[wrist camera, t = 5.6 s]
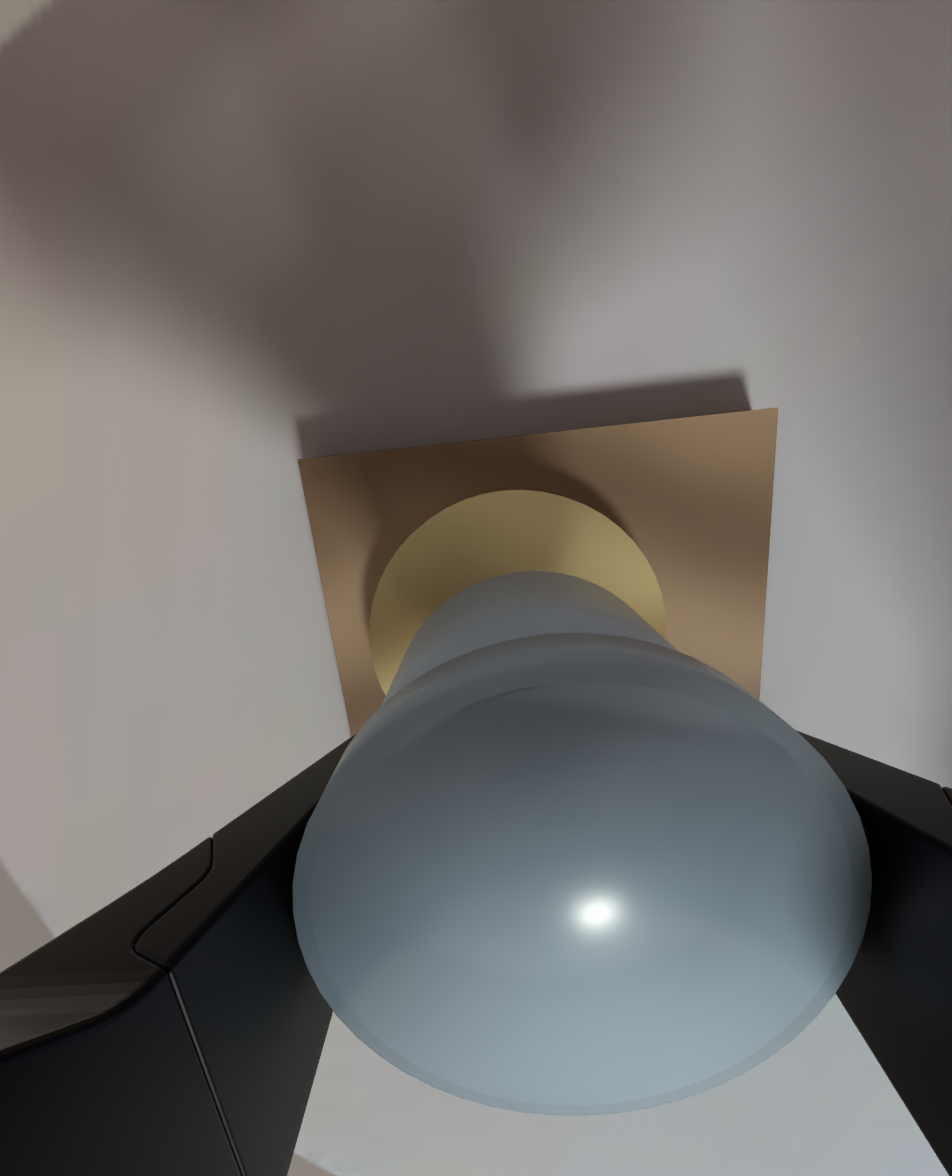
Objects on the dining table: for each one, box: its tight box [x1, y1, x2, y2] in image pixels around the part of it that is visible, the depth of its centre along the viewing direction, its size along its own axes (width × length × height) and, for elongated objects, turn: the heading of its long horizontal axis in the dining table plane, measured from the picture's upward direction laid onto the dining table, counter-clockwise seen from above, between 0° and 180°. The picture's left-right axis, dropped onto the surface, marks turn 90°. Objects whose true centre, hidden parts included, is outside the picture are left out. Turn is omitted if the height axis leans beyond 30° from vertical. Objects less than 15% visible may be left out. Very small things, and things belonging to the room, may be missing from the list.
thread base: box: [298, 408, 778, 736], centre depth 15 cm, size 18×14×2 cm
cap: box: [293, 571, 872, 1116], centre depth 7 cm, size 6×6×5 cm
